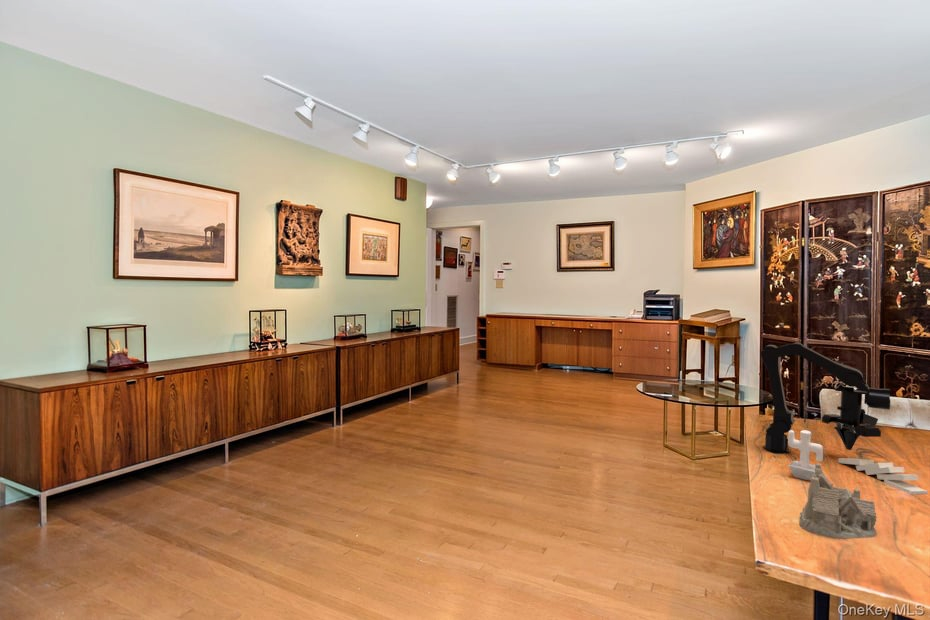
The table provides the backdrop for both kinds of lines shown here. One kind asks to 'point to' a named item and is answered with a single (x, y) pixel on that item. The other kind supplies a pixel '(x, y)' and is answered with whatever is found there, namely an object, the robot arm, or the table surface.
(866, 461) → the domino
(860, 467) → the domino
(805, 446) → the figurine
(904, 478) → the domino
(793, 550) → the table surface
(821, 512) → the ceramic cottage
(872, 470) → the domino
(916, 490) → the domino
